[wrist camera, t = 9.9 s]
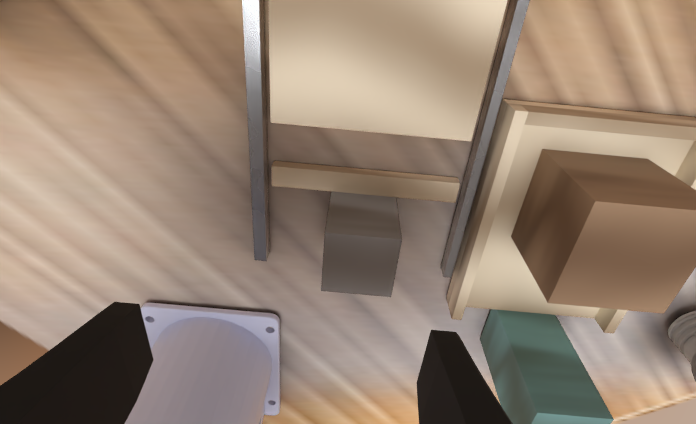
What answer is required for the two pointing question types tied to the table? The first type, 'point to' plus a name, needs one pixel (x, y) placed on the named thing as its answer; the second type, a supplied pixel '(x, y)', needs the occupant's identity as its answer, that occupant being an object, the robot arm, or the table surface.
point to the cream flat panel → (376, 109)
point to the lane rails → (258, 125)
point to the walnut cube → (607, 231)
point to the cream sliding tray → (511, 270)
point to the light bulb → (685, 337)
